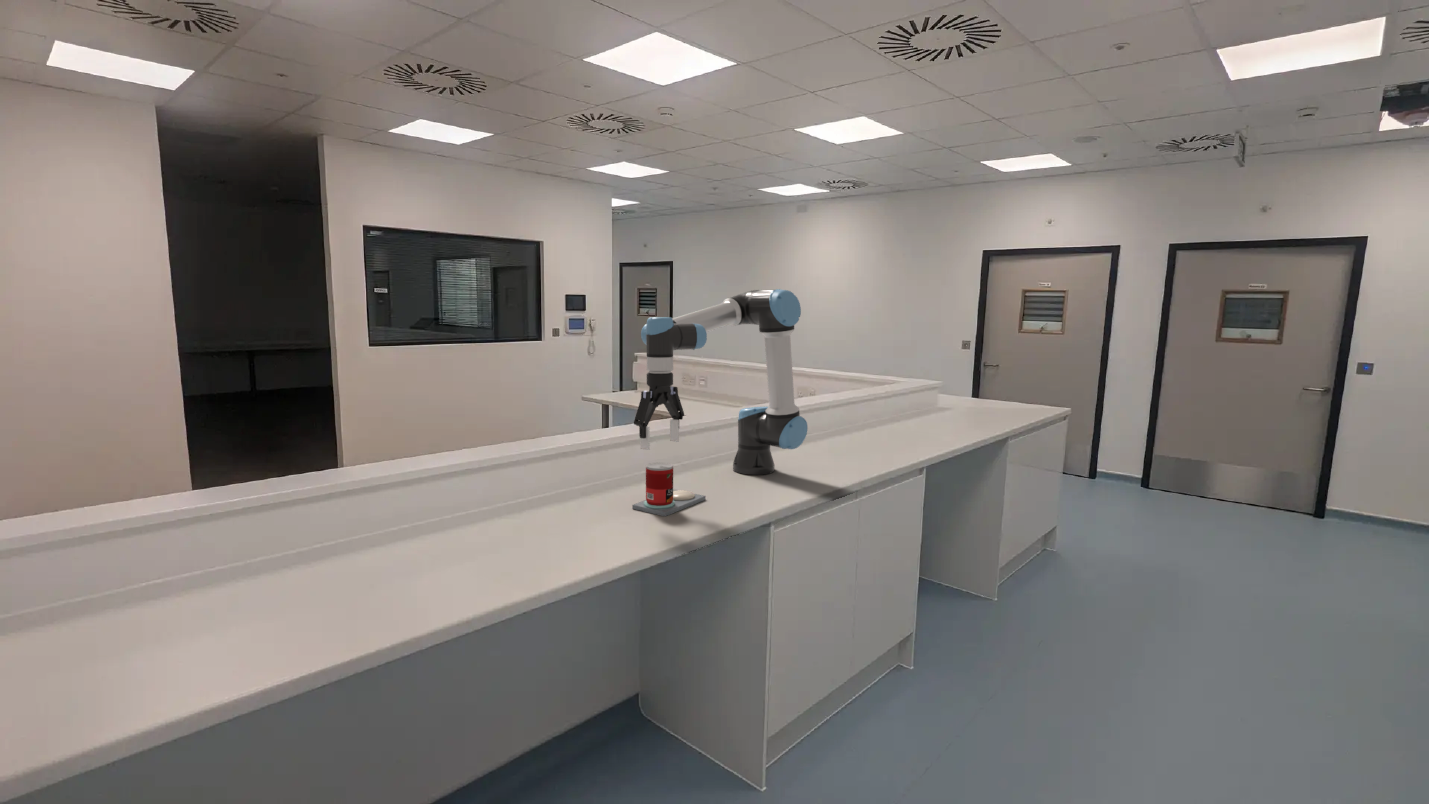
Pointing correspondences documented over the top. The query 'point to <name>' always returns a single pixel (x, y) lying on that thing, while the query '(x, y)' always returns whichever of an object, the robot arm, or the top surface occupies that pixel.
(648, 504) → the pad
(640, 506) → the board
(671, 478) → the canned food
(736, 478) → the top surface
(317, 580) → the top surface
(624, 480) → the top surface
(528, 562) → the top surface
